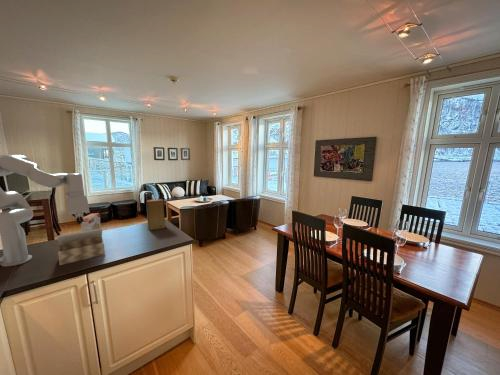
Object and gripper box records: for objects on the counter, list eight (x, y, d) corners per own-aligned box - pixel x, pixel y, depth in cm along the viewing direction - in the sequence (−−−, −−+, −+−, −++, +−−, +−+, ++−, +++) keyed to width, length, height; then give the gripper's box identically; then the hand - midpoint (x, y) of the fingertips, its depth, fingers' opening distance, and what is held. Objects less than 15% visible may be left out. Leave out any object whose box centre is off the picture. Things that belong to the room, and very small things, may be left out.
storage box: (59, 265, 125) (57, 252, 124) (60, 256, 136) (59, 244, 135) (104, 254, 139) (103, 243, 137) (102, 247, 149) (101, 236, 148)
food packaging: (163, 224, 198) (162, 198, 194) (165, 228, 190) (164, 200, 186) (147, 227, 191) (145, 199, 187) (148, 230, 183) (147, 201, 179)
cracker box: (91, 247, 149) (88, 218, 146) (82, 247, 148) (79, 218, 145) (102, 239, 163) (100, 212, 160) (94, 239, 162) (91, 213, 159)
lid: (56, 237, 124) (56, 235, 125) (59, 244, 135) (59, 242, 135) (102, 229, 138) (102, 228, 138) (101, 236, 148) (101, 234, 149)
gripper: (59, 196, 121) (64, 227, 124) (92, 193, 130) (95, 222, 133) (60, 194, 127) (64, 224, 130) (91, 191, 136) (94, 219, 139)
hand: (80, 223), depth 132 cm, fingers closed
